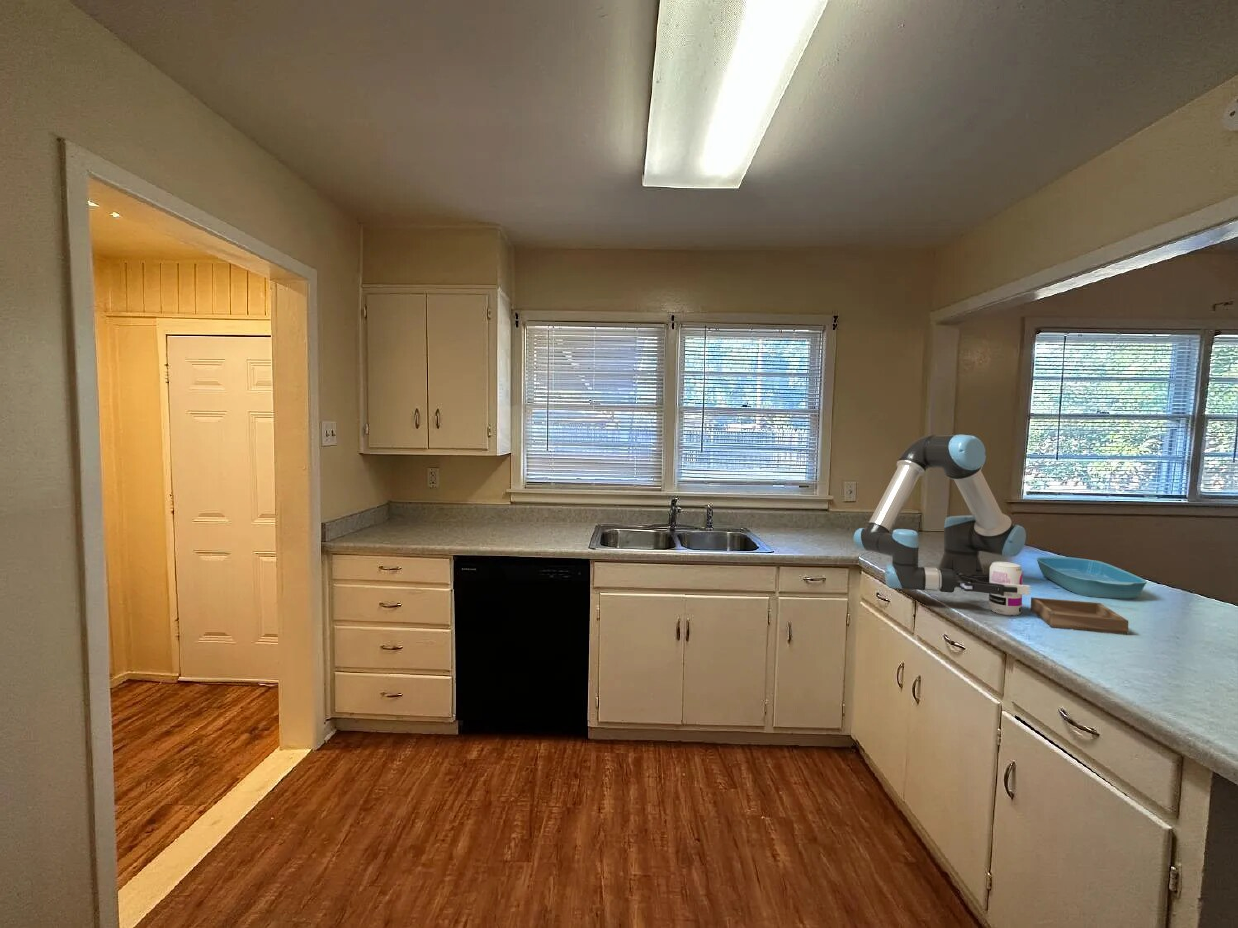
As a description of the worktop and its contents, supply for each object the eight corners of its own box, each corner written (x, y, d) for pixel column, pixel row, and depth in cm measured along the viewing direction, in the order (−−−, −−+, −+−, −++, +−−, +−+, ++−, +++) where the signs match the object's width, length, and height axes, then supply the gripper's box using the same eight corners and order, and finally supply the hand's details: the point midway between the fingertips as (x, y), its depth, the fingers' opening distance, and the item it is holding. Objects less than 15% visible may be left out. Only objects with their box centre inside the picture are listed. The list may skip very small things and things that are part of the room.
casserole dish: (1161, 606, 166) (1162, 584, 166) (1076, 600, 173) (1077, 579, 172) (1094, 575, 201) (1095, 557, 201) (1026, 572, 208) (1026, 554, 207)
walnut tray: (1030, 609, 164) (1031, 597, 163) (1099, 615, 158) (1099, 602, 157) (1051, 627, 149) (1051, 613, 149) (1127, 634, 143) (1128, 620, 142)
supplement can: (1019, 609, 164) (1020, 562, 163) (1023, 617, 157) (1024, 568, 156) (987, 605, 168) (988, 560, 167) (990, 613, 161) (991, 565, 160)
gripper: (932, 582, 178) (1012, 588, 170) (945, 601, 159) (1036, 608, 151) (932, 560, 178) (1012, 566, 170) (946, 576, 159) (1037, 583, 150)
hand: (1024, 586), depth 160 cm, fingers closed on supplement can, 8 cm apart
